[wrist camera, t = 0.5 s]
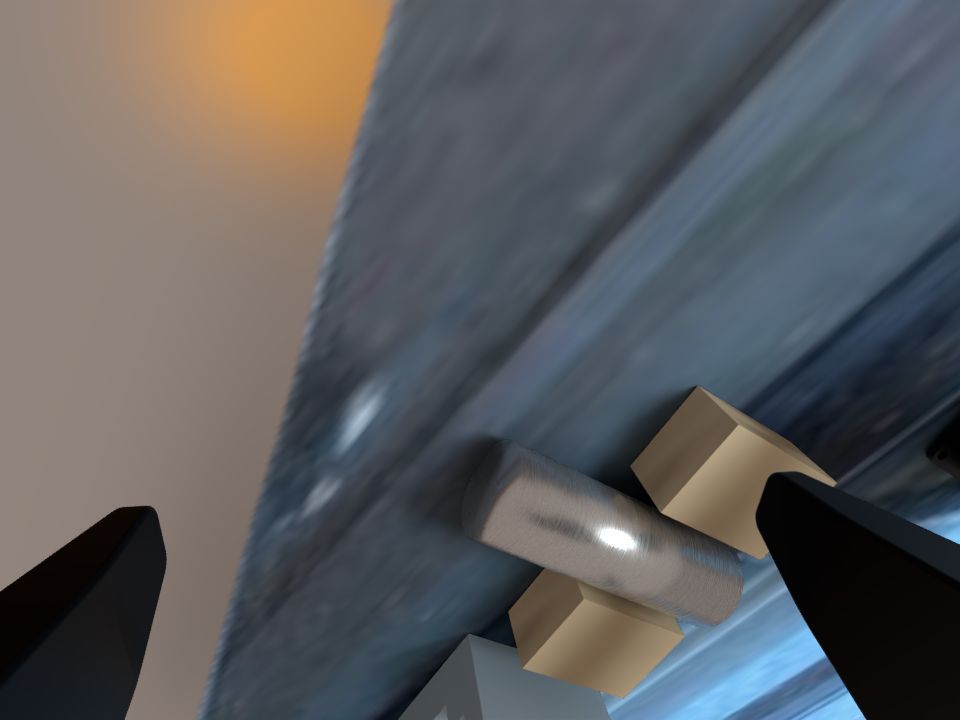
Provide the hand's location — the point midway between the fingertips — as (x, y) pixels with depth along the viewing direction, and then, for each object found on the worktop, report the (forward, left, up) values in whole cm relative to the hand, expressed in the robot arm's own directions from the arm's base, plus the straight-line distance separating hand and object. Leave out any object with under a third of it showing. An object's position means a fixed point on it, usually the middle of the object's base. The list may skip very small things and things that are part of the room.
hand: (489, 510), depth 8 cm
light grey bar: (-12, +6, -13) cm, 19 cm away
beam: (-15, +6, -12) cm, 21 cm away
